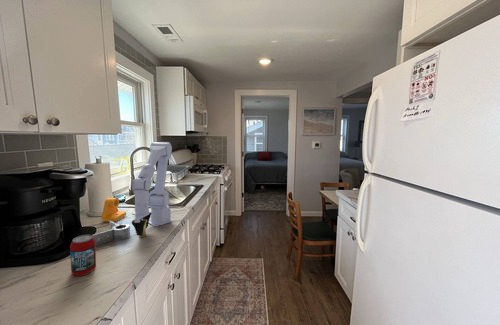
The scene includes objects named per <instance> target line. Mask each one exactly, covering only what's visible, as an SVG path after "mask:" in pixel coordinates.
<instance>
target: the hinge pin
mask: <svg viewBox="0 0 500 325" xmlns="http://www.w3.org/2000/svg"><path fill="white" fill-rule="evenodd" d="M142 221H146V222H145V225H144V229H143V234H142V235H140V236H138V239H139V238H140V239H144V238H146V237H147V228H146V223H147V219H142Z"/></svg>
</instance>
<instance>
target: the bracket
mask: <svg viewBox="0 0 500 325" xmlns="http://www.w3.org/2000/svg"><path fill="white" fill-rule="evenodd" d="M119 205H120V199H119V198H118V197H107V198H106V199H105V201H104V204H103V209H102V214H101V221H102V222H109V221H112V222H120V221H121V220H122V219H124V218H125V217H126V215H127V211H126V210H124V211H123V210H119V209H118V207H119Z"/></svg>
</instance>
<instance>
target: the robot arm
mask: <svg viewBox="0 0 500 325" xmlns="http://www.w3.org/2000/svg"><path fill="white" fill-rule="evenodd" d="M172 151H173V147H172V144H171V142H156V141H152V142H151V143H150V144H149V152H150V154H149V156H148V159H147V163H146V164H144V165H142V167H141V169H140V172H139V174H138V175H137V177H135V178H134V179H133V181H132V182H131V183H132V184H131V188H132V190H133V194H134V211H133V212H132V216H134V219H132V220H131V225H132V226H133V227H134V230H135V233H136V235H137V236H138V237H139V236H140V235H142V234H143V229H144V225H145V222H146V221H142V219H147V223H146V229H148V226H149V224H150V225H151V226H153V227H158V226H162V225H166V224H169V223H172V220H171V217H172V215H171V214H172V213H171V208H170V206H169V203H170V193H169V192H168V191H167V190H166V189H165V186H166V179H167V171H168V165H169V164H168V163H169V160H171V158H172ZM156 164H157V168H155V166H156ZM155 172H156V175H155ZM154 175H155V183H154V184H155V185H154V188H153V189H152V190H151V188H152V182H153V179H152V178H153V176H154ZM149 191H150V192H149ZM150 219H151V220H150Z"/></svg>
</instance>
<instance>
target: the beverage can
mask: <svg viewBox="0 0 500 325" xmlns="http://www.w3.org/2000/svg"><path fill="white" fill-rule="evenodd" d="M69 249H70V250H69V252H70V268H71V269H70V270H71V274H72V275H73V276H78V277H79V276H84V275H88V274H89V273H91V272H93V271H94V270H95V269H96V267H97V252H96V250H97V249H96V246H95V239H94V238H93V234H82V235H78V236H75V237H74V238H73V239H72V241H71V243H70V245H69Z"/></svg>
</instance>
